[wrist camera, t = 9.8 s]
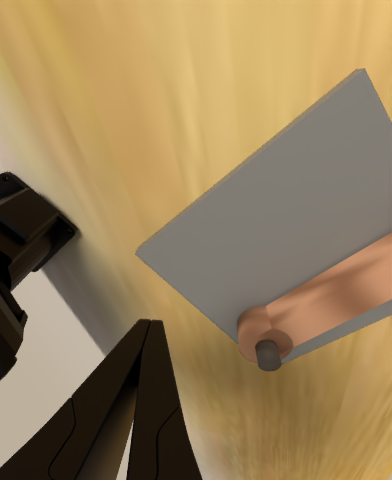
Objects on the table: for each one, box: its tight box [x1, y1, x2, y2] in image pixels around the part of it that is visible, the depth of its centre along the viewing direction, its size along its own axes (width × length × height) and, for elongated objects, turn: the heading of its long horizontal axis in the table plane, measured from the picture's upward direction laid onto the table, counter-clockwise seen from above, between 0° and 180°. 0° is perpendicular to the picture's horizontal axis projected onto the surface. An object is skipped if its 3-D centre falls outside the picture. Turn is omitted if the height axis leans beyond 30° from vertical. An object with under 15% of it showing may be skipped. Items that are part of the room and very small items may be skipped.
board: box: [135, 68, 392, 364], centre depth 22 cm, size 19×19×1 cm
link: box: [237, 232, 392, 371], centre depth 20 cm, size 18×4×4 cm, turn 133°
